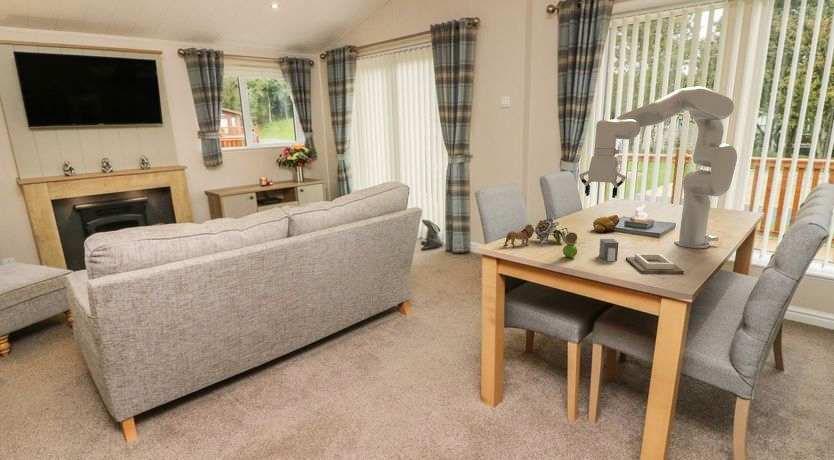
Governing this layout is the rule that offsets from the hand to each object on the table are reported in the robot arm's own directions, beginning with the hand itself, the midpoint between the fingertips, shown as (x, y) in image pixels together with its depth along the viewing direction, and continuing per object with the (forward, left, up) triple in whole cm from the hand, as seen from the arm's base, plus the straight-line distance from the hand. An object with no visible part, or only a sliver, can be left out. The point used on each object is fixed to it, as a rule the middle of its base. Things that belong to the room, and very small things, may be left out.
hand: (600, 196), depth 174 cm
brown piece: (-15, +17, -23) cm, 33 cm away
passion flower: (+16, -18, -24) cm, 33 cm away
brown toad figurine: (-13, -38, -24) cm, 46 cm away
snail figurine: (+13, +7, -23) cm, 28 cm away
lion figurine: (+30, -11, -23) cm, 39 cm away
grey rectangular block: (-2, +7, -23) cm, 24 cm away
